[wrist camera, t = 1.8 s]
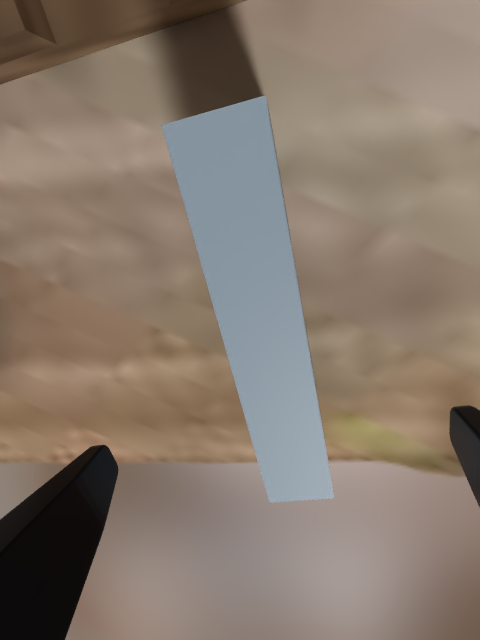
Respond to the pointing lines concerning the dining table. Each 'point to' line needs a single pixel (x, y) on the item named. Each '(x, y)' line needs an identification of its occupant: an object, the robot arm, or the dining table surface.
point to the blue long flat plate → (254, 288)
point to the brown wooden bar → (82, 28)
